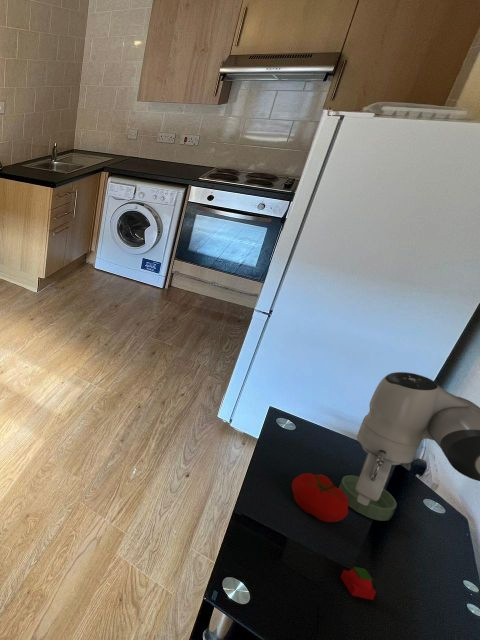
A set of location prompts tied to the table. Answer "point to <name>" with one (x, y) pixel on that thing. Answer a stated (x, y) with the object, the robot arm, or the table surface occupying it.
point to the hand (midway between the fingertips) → (365, 490)
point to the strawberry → (359, 582)
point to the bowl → (374, 509)
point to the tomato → (320, 497)
